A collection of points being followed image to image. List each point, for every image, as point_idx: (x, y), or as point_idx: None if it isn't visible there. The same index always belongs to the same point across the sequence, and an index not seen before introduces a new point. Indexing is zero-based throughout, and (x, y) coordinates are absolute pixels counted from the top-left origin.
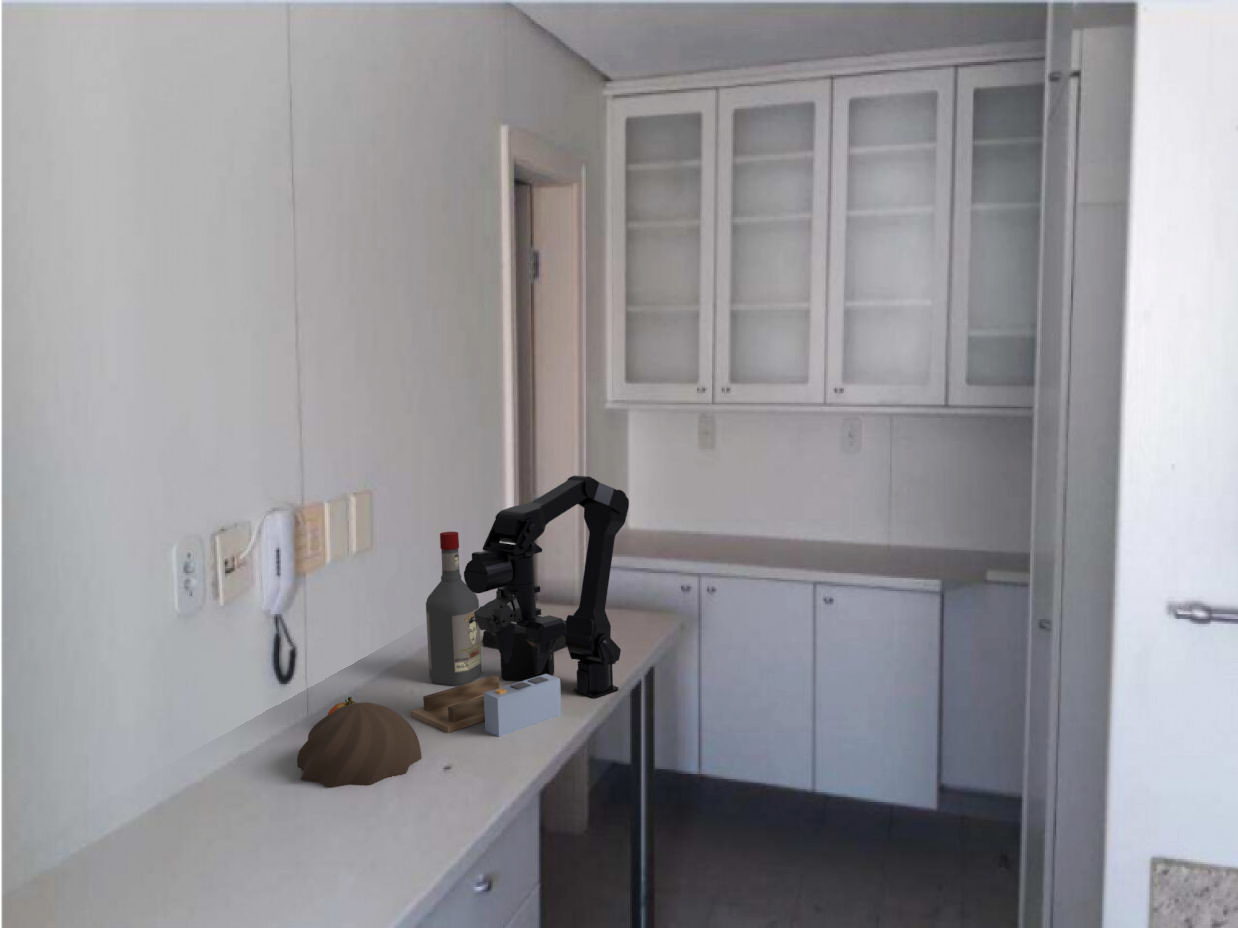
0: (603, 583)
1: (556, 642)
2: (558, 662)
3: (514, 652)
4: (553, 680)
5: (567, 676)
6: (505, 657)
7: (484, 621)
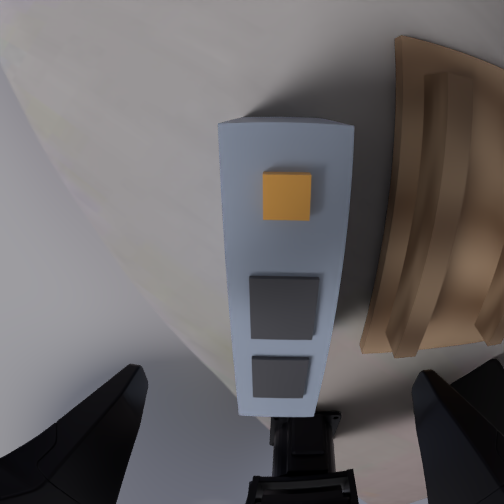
0: None
1: None
2: None
3: (493, 416)
4: (237, 399)
5: (397, 428)
6: (427, 397)
7: None
